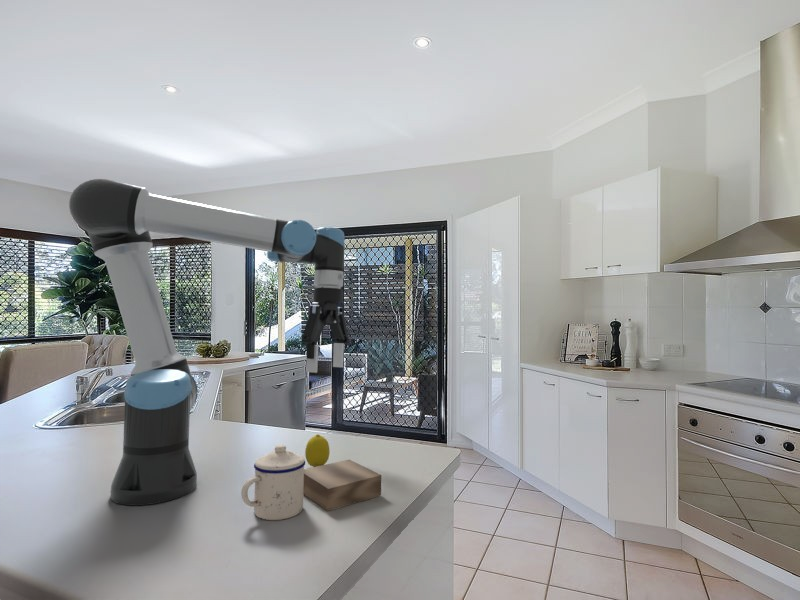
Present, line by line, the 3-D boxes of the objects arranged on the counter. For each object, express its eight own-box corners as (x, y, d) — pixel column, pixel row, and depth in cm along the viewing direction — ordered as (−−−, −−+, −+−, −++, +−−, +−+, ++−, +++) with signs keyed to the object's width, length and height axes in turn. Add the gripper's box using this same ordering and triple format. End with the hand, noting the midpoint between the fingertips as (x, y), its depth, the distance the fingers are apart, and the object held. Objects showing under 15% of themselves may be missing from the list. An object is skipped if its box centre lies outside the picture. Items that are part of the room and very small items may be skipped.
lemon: (326, 473, 100) (327, 437, 101) (302, 473, 100) (303, 437, 101) (331, 465, 106) (331, 431, 106) (307, 465, 106) (308, 431, 106)
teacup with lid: (284, 496, 88) (286, 436, 88) (314, 509, 82) (316, 445, 82) (227, 516, 78) (229, 449, 79) (256, 533, 73) (258, 461, 73)
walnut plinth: (327, 511, 81) (328, 488, 81) (298, 490, 91) (299, 470, 91) (381, 495, 89) (381, 475, 89) (348, 477, 98) (349, 459, 98)
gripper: (316, 283, 103) (312, 375, 102) (361, 291, 127) (359, 366, 126) (288, 283, 106) (285, 373, 105) (338, 291, 129) (335, 364, 128)
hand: (325, 369), depth 115 cm, fingers open, 13 cm apart
